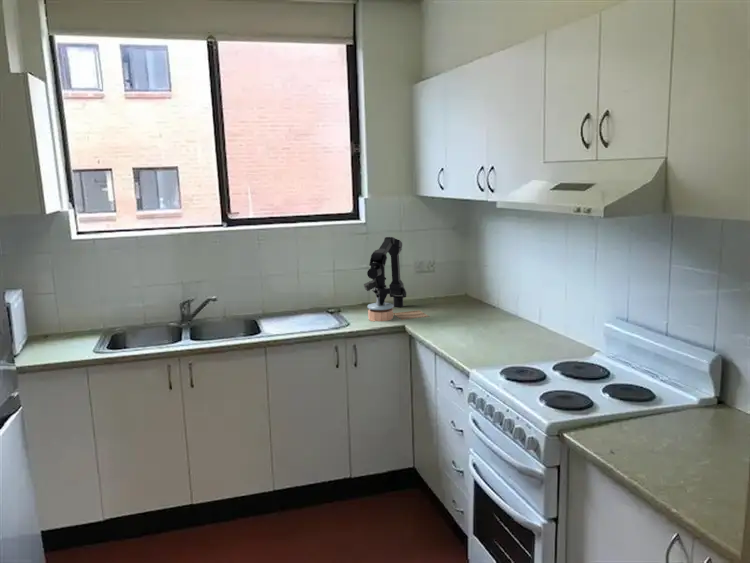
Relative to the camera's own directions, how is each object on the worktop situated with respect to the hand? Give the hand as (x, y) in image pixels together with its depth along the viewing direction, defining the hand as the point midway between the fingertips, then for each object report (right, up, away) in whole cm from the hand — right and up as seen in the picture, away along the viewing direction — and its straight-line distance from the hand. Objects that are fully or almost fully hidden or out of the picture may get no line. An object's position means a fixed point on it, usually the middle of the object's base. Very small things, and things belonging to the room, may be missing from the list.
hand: (380, 304), depth 335 cm
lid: (0, -1, 0) cm, 2 cm away
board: (+16, -6, +6) cm, 19 cm away
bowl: (0, -8, +1) cm, 8 cm away
